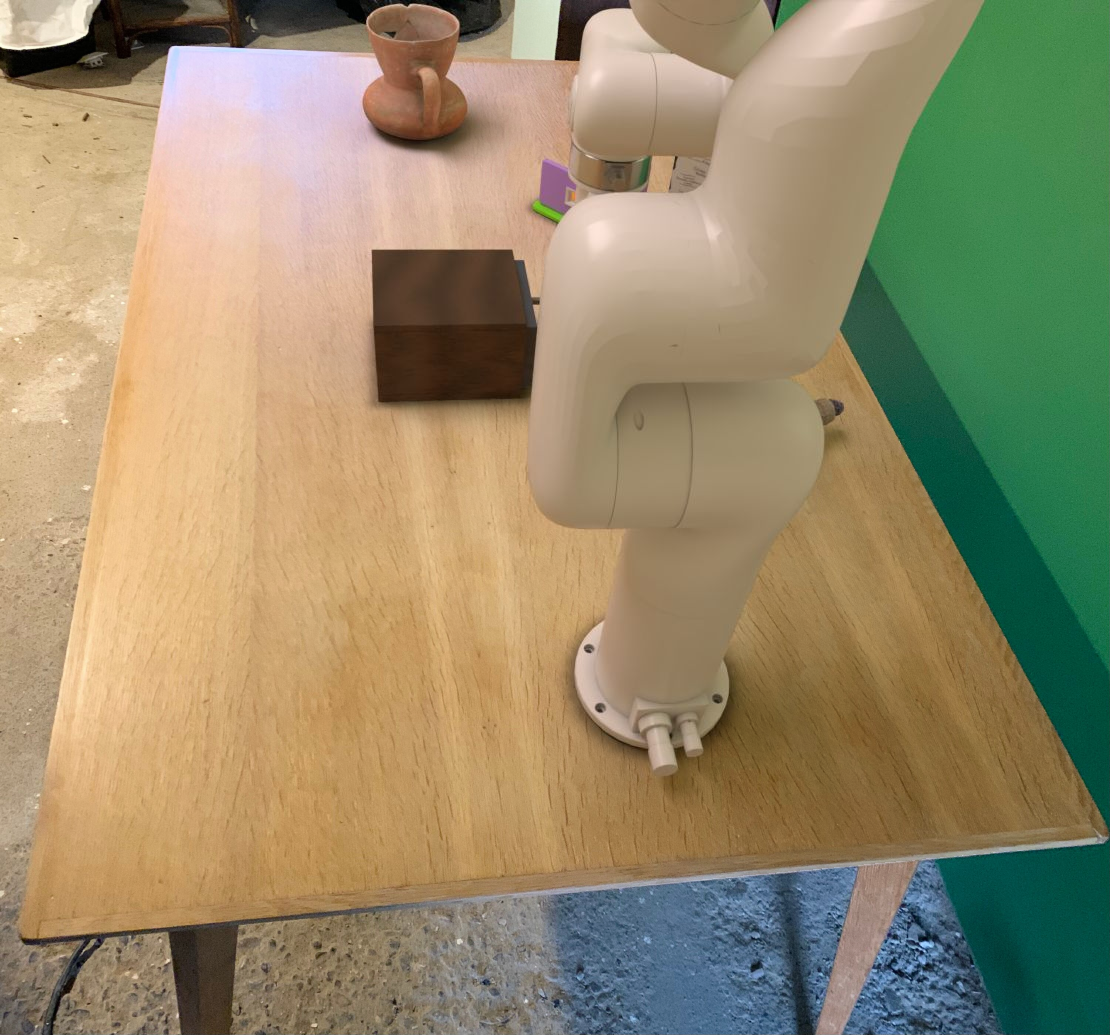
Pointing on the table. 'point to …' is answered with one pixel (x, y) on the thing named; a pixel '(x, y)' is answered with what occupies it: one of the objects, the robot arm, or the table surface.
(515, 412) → the table surface
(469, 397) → the cabinet
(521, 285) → the drawer
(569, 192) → the toy room diorama
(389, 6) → the ceramic jug
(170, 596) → the table surface
